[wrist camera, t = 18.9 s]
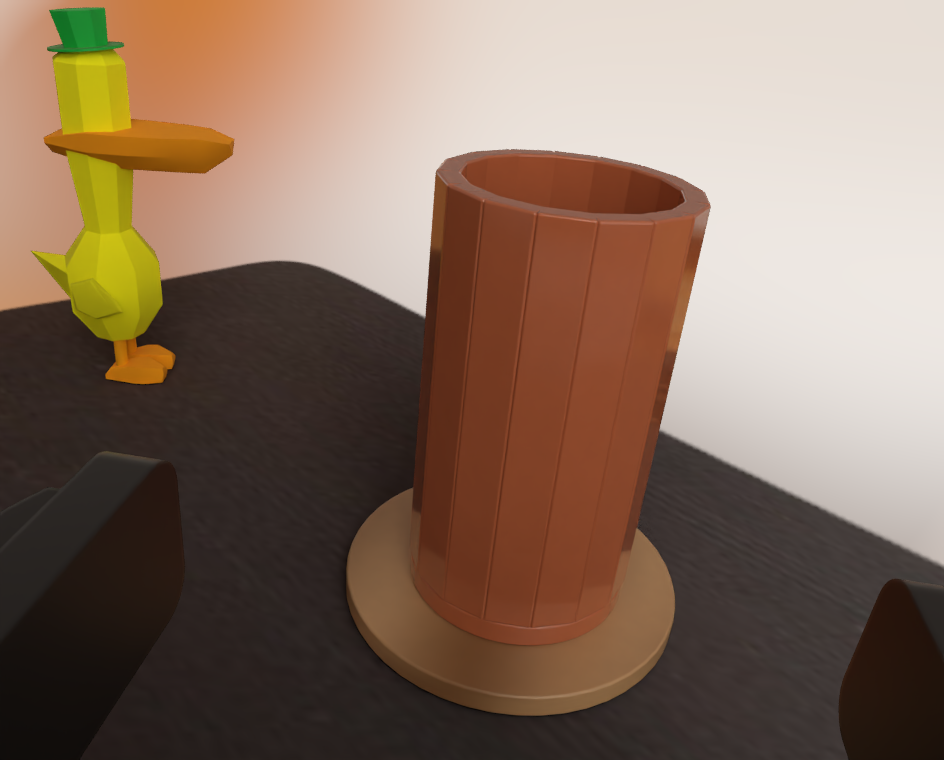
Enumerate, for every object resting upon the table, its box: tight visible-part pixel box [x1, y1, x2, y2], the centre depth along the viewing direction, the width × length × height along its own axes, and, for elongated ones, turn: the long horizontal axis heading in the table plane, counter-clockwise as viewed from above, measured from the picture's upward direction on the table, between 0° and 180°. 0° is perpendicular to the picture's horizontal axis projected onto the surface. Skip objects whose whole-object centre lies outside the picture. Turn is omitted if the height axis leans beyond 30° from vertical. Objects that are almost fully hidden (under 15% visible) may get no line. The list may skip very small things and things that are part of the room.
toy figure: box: [31, 8, 234, 384], centre depth 27 cm, size 7×4×12 cm, turn 94°
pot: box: [409, 149, 711, 646], centre depth 19 cm, size 5×5×10 cm
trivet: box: [346, 488, 675, 716], centre depth 21 cm, size 8×8×1 cm
